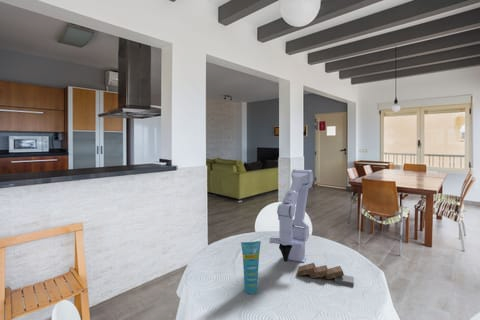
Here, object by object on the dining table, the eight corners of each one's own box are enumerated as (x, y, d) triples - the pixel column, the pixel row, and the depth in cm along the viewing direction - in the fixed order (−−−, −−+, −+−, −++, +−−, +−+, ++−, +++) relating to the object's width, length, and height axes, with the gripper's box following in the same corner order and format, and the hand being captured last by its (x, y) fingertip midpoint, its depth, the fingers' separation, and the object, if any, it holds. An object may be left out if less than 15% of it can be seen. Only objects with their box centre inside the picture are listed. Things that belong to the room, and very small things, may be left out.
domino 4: (334, 279, 102) (353, 282, 99) (335, 273, 107) (353, 276, 104) (334, 284, 102) (353, 287, 99) (335, 278, 107) (353, 281, 104)
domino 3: (325, 274, 104) (342, 270, 103) (323, 269, 109) (339, 265, 108) (327, 279, 104) (344, 275, 103) (325, 274, 109) (341, 270, 108)
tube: (243, 295, 94) (242, 244, 93) (240, 288, 98) (239, 239, 98) (262, 292, 95) (262, 242, 94) (258, 285, 100) (258, 238, 99)
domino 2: (309, 273, 106) (325, 270, 103) (310, 268, 110) (326, 265, 108) (311, 278, 106) (327, 275, 103) (312, 273, 110) (328, 269, 108)
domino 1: (297, 271, 108) (312, 267, 105) (298, 266, 112) (313, 262, 110) (299, 276, 108) (314, 272, 105) (300, 270, 112) (315, 267, 110)
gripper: (267, 231, 111) (267, 261, 112) (300, 235, 105) (300, 267, 106) (272, 226, 117) (272, 255, 118) (303, 230, 111) (303, 260, 112)
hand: (285, 260), depth 112 cm, fingers closed
